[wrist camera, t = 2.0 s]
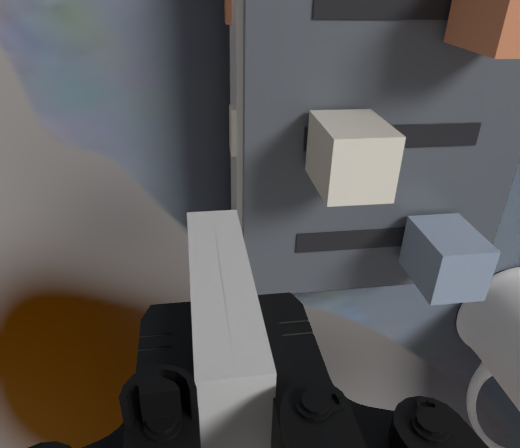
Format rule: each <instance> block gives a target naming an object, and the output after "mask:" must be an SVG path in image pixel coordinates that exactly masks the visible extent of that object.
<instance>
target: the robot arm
mask: <svg viewBox="0 0 520 448" xmlns="http://www.w3.org/2000/svg"><path fill="white" fill-rule="evenodd" d="M187 228H188V250H189V270H190V271H189V272H190V295H191V302H181V303H169V304H157V305H150V307H149V308H148V310H147V311H146V313H145V314H144V316H143V317H142V319H141V324H140V334H139V337H140V338H139V344H138V355H137V365H136V373H135V374H134V375H132V376H131V377H130V379H129V380H128V381H127V382H126V383H125V384H124V385H123V387H122V390H121V393H120V395H119V400H120V406H121V411H122V417H123V423H122V425H121V426H120V427H119V428H118V429H117V430H115V431H114V432H113V433H111V434H110V435H109V436H107V437H105V438H103V439H101V440H99V441H97V442H94V443H92V444H90V445H87V446H85V447H82V448H489V447H488V446H487V445H486V444H485V443H484V441H483V440H482V439H481V438H480V437H479V436H478V435H477V434H476V433H475V432H474V431H473V430H472V428H471V427H470V426H469V425H468V424H467V423H466V422H465V421H464V420H463V419H462V418H461V417H460V415H459V414H458V413H456V412H455V411H454V410H453V409H452V408H450V407H449V406H448V405H447V404H445V403H442V402H440V401H438V400H436V399H433V398H429V397H423V396H416V397H410V398H406V399H405V400H403V401H402V402H400V403H399V404H398V405H397V407H396V409H395V411H391V410H384V409H379V408H373V407H367V406H364V405H360V404H357V403H355V402H353V401H351V400H349V399H348V398H346V397H345V396H344V394H343V393H342V391H340V390H339V389H338V388H336V387H335V386H334V385H333V383H332V381H331V379H330V377H329V374H328V372H327V369H326V366H325V363H324V361H323V358H322V356H321V353H320V350H319V347H318V345H317V342H316V339H315V336H314V335H313V332H312V328H311V326H310V323H309V322H308V317H307V315H306V312H305V309H304V307H303V304H302V303H301V302H300V301H299V300H298V299H297V298H296V297H294V296H293V295H292V294H291V293H290V292H288V293H275V294H263V295H257V291H256V287H255V283H254V279H253V275H252V271H251V267H250V263H249V259H248V255H247V250H246V246H245V242H244V238H243V234H242V230H241V226H240V222H239V218H238V214H237V210H221V211H203V212H187ZM29 448H71V447H70V446H69V445H67V444H63V443H60V442H57V441H55V442H44V443H39V444H36V445H34V446H31V447H29Z"/></svg>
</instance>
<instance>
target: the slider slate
mask: <svg viewBox="0 0 520 448" xmlns="http://www.w3.org/2000/svg"><path fill="white" fill-rule="evenodd" d="M500 253H501V252H500V251H499V250H498V249H497V248H496V247H495V246H494V245H492V244H491V243H490V242H489V241H488V240H487V239H486V238H485V237H484V236H483V235H482V234H481V233H479V232H478V231H477V230H476V229H475V228H474V227H473V226H472V225H471V224H470V223H469V222H468V221H467V220H465V219H464V218H463V217H462V216H461V215H460V214H459V213H451V214H433V215H416V216H408V217H407V222H406V227H405V232H404V237H403V241H402V246H401V251H400V256H399V263H400V264H401V265H402V267H403V268H404V270H405V271H406V272H407V274H408V275H409V277H410V278H411V279H412V281H413V282H414V284H415V285H416V286H417V288H418V289H419V290H420V292H421V293H422V295H423V296H424V297H425V299H426V300H427V302H428V303H429V304H430V306H431V305H443V304H454V303H466V302H477V301H485V298H486V295H487V292H488V289H489V286H490V283H491V280H492V277H493V274H494V271H495V268H496V265H497V262H498V259H499V256H500Z"/></svg>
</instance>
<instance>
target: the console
mask: <svg viewBox="0 0 520 448" xmlns="http://www.w3.org/2000/svg"><path fill="white" fill-rule="evenodd" d="M451 2H452V0H224V9H225V23H226V25H230V105H229V147H230V153H231V210H237V214H238V218H239V222H240V226H241V230H242V234H243V238H244V242H245V246H246V250H247V255H248V259H249V263H250V267H251V271H252V275H253V279H254V283H255V287H256V291H257V295H263V294H275V293H288V292H290V293H291V294H292V293H304V292H317V291H330V290H342V289H355V288H368V287H380V286H393V285H406V284H414V282H413V281H412V279H411V278H410V277H409V275H408V274H407V272H406V271H405V270H404V268H403V267H402V265H401V264H400V263H399V256H400V251H401V246H402V241H403V237H404V232H405V227H406V222H407V217H408V216H416V215H433V214H451V213H459V214H460V215H461V216H462V217H463V218H464V219H465V220H467V221H468V222H469V223H470V224H471V225H472V226H473V227H474V228H475V229H476V230H477V231H478V232H479V233H481V234H482V235H483V236H484V237H485V238H486V239H487V240H488V241H489V242H490V243H491V244H492V245H493V242H494V239H495V236H496V232H497V229H498V226H499V223H500V220H501V217H502V214H503V211H504V207H505V204H506V201H507V198H508V195H509V192H510V189H511V185H512V182H513V179H514V176H515V173H516V170H517V167H518V164H519V160H520V59H493V58H490V57H487V56H484V55H481V54H478V53H475V52H472V51H469V50H466V49H463V48H460V47H457V46H454V45H451V44H448V43H445V42H443V41H444V37H445V32H446V27H447V22H448V17H449V12H450V7H451ZM345 109H372V110H373V111H374V112H375V113H377V114H378V115H379V116H380V117H382V118H383V119H384V120H385V121H387V122H388V123H389V124H390V125H392V126H393V127H394V128H395V129H397V130H398V131H399V132H400V133H401V134H403V135H404V136H405V137H406V140H405V146H404V151H403V156H402V162H401V167H400V173H399V178H398V183H397V189H396V194H395V200H394V203H392V204H373V205H354V206H335V207H327V206H326V204H325V203H324V201H323V199H322V198H321V196H320V194H319V193H318V191H317V189H316V187H315V186H314V184H313V182H312V181H311V179H310V177H309V176H308V174H307V172H306V171H305V163H306V150H307V137H308V124H309V111H310V110H345Z"/></svg>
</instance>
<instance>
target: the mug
mask: <svg viewBox="0 0 520 448" xmlns="http://www.w3.org/2000/svg"><path fill="white" fill-rule="evenodd" d="M456 327H457V332H458V334H459V336H460V338H461V339H462V340H463V341H464V342H465V343H466V344H467V345H468V346H470V347H471V348H472V349H473V351H474V352H475V353H476V354H477V356H478V357H479V358H480V359H481V361H482V362H481V364H480V365H479V367H478V368H477V370H476V371H475V373H474V374H473V376H472V378H471V381H470V383H469V386H468V391H467V399H466V400H467V401H466V403H467V412H468V416H469V419H470V422H471V425H472V427H473V428H474V430H475V432H476V434H477V435H478V436H479V437H480V438H481V439H482V440H483V441H484V443H485V444H486V445H487V446H488V447H489V448H504V447H502V446H500V445H498V444H496V443H494V442H493V441H492V440H490V439H489V438H488V437H487V436H486V434H485V433H484V432H483V430H482V429H481V427H480V425H479V422H478V419H477V414H476V400H477V396H478V393H479V390H480V388H481V387H482V385H483V383H484V382H485V381H486V380H487V379H488V378H490V377H491V376H493V377H494V378H495V379H496V381H497V382H498V384H499V385H500V386H501V388H502V389H503V390H504V392H505V393H506V394H507V396H508V397H509V398H510V400H511V401H512V402H513V404H514V405H515V406H516V408H517V409H518V410H519V412H520V267H516V268H511V269H507V270H504V271H501V272H499V273H497V274H495V275H493V277H492V280H491V283H490V286H489V289H488V292H487V295H486V298H485V301H477V302H466V303H462V305H461V307H460V309H459V311H458V315H457V320H456Z"/></svg>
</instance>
